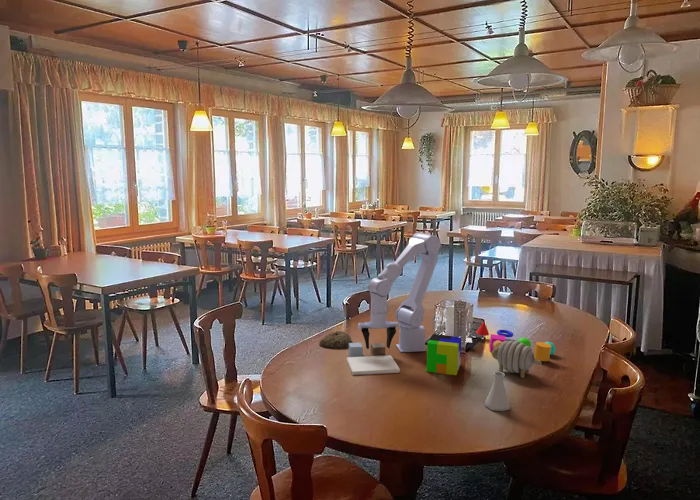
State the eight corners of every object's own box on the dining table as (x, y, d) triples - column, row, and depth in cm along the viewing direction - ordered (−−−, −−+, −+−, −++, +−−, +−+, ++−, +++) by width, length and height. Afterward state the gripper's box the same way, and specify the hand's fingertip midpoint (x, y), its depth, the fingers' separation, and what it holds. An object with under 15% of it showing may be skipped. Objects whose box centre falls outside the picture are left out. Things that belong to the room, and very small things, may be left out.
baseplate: (390, 358, 190) (390, 355, 189) (399, 372, 177) (399, 369, 177) (346, 360, 187) (346, 357, 187) (352, 375, 174) (352, 371, 174)
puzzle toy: (460, 364, 184) (461, 337, 183) (456, 375, 175) (457, 346, 173) (431, 361, 188) (432, 334, 186) (426, 371, 178) (427, 343, 177)
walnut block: (382, 353, 195) (382, 343, 194) (385, 357, 191) (385, 347, 190) (370, 353, 194) (370, 343, 194) (373, 358, 190) (373, 347, 189)
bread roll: (348, 350, 198) (348, 337, 197) (316, 347, 201) (316, 335, 200) (355, 339, 210) (355, 327, 210) (325, 337, 213) (325, 325, 212)
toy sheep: (496, 363, 186) (497, 332, 184) (545, 374, 177) (547, 342, 175) (485, 372, 178) (486, 341, 176) (536, 385, 168) (538, 351, 166)
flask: (481, 401, 156) (482, 369, 155) (504, 400, 157) (506, 368, 155) (489, 412, 149) (491, 379, 148) (514, 411, 150) (516, 378, 148)
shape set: (561, 372, 182) (564, 352, 181) (458, 357, 188) (461, 337, 187) (545, 344, 211) (548, 326, 210) (456, 331, 216) (458, 314, 215)
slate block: (360, 352, 195) (360, 342, 194) (362, 357, 191) (362, 346, 190) (348, 353, 194) (348, 343, 194) (350, 357, 190) (350, 347, 189)
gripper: (395, 307, 195) (394, 343, 197) (356, 308, 192) (356, 344, 195) (400, 313, 188) (399, 349, 190) (360, 314, 186) (359, 351, 188)
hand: (377, 347), depth 192 cm, fingers open, 7 cm apart
